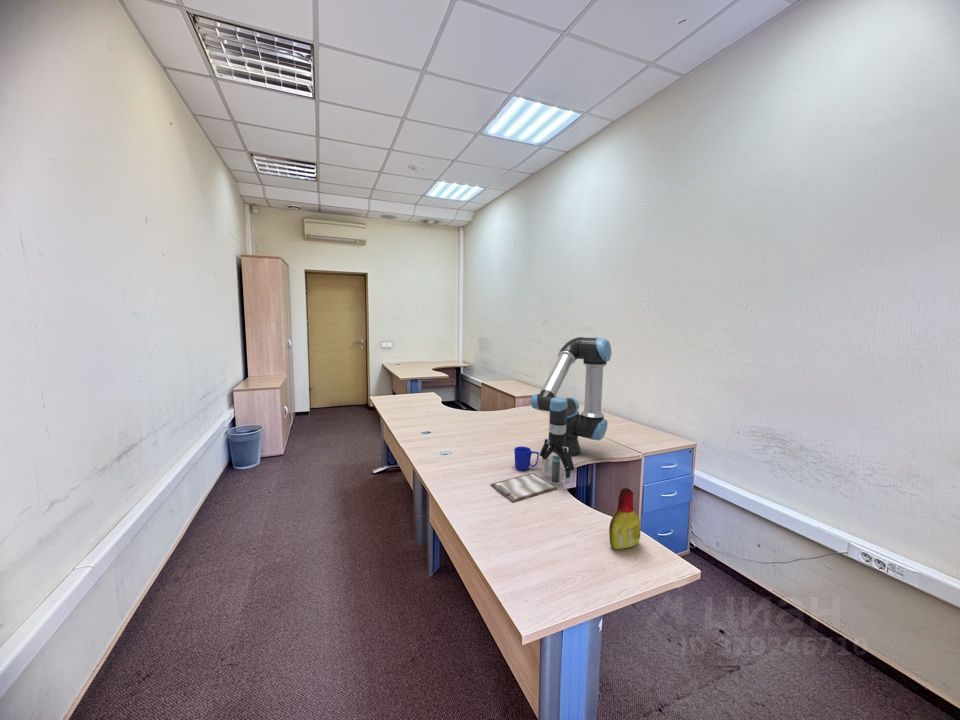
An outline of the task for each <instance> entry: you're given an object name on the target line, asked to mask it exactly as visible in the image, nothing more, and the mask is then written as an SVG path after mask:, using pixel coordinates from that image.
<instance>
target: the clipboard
mask: <svg viewBox="0 0 960 720" xmlns="http://www.w3.org/2000/svg"><path fill="white" fill-rule="evenodd" d="M489 485H490V487H491V488H493V489H494V490H495V491H497V492H498V493H499V494H500V495H502V496H504V498H506V499H507V500H508V501H510V502H511V503H512V504H513V503H516V502H517V503H518V502H520V501H524V500H526V499H530V498H533V497H537V496H539V495H542V494H546V493H550V492H552V491H555V490H558V486H557V485H553V484H552V483H550V482H549V481H548V480H545V479H544V478H542V477H541V476H538V475H537V474H536V473H533V472H531V473H527V474H523V475H519V476H516V477H512V478H508V479H505V480H504V479H503V480H501V481H497V482H493V483H490V484H489Z"/></svg>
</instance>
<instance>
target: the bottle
mask: <svg viewBox="0 0 960 720" xmlns="http://www.w3.org/2000/svg"><path fill="white" fill-rule="evenodd" d="M608 531H609V544H610V546H611V548H612V549H614V550H622V549H628V548H629V549H630V548H632V547H635V546H636V545H638V544H640V538H641V520H640V517H639V515H638V514H637V512H636V510H635V509H634V492H633V491H632V490H631V489H630V488H628V487H624V488H622V489H621V490H620V492H619V495H618V503H617V509H616V512H615V513H614V515H613V516H612V518H611V520H610V522H609V530H608Z"/></svg>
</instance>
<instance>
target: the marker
mask: <svg viewBox="0 0 960 720" xmlns="http://www.w3.org/2000/svg"><path fill="white" fill-rule="evenodd" d="M551 457H552V458H551V460H552V461H551V484H552V485H554V486H559V485H560V476H561V475H560V474H561V473H560V471H561V459H560V457H559V456H558V455H552V456H551Z"/></svg>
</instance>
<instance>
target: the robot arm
mask: <svg viewBox="0 0 960 720" xmlns="http://www.w3.org/2000/svg"><path fill="white" fill-rule="evenodd" d="M557 356H558V358H557V360H556V362H555V364H554V366H553V367H552V370H551V372H550V373H549V374H548V375H549V376H547V379H546V380H545V383H544V384H543V387H542V389H541V390H540V392H539V393H533V395H532V396H531V399H530V404H531V407H532V409H534V410H537V411H544V412H547V413H549V421H548V422H549V423H548V425H549V426H548V431H549V432H548V438H545V439H544V443H543V445H542V448H541V450H540V453H539V457H541V458H542V473H543V474H545V473H549V469H550V467H549V463H550V459H549V457H550V455H552V453H555V454H557V456H559V457H560V462H561V463H562V466H563V467H564V469H563V479H562V481H563V482H562V485H564V486H566V485H569V484H570V477H571V471H575V465H574V462H573V458H572V457H573V456H575V457H576V456H578V455H580V454H581V447H580V442H579V437H581V438H585V439H589V440H592V441H601V440H603V438H604V437H605V435H606V433H607V429H608V419H606V418H604V417H605V414H604V413H603V412H602V400H603V399H602V398H603V397H602V396H603V379H604V378H603V377H604V367H605V366H607V362H609V361H611V358H612V347H611V343H610V341H609V340H608V339H606V338H603V337H583V336H579V337H574V338H572V339H571V340H568V341H567V342H566V343H565V344H564V345H563V346H562V348H561V349H560V350H559V351H558V353H557ZM576 360H583V365H584V366H585V384H584V385H585V386H584V405H583V407H584V409H583V411H581V412H580V411H579V410H580V409H579V408H580V404H579V403H580V402H579V401H578V400H577V399H576V398H575V397H567V398H564V397H560V396H559V397H558V396H557V395H558V392H559V391H560V388H561V386H562V384H563V382H564V381H565V378H566V376H567V374H568V372H569V371H570V368H571V366H572V365H573V364H574V363H576Z"/></svg>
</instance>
